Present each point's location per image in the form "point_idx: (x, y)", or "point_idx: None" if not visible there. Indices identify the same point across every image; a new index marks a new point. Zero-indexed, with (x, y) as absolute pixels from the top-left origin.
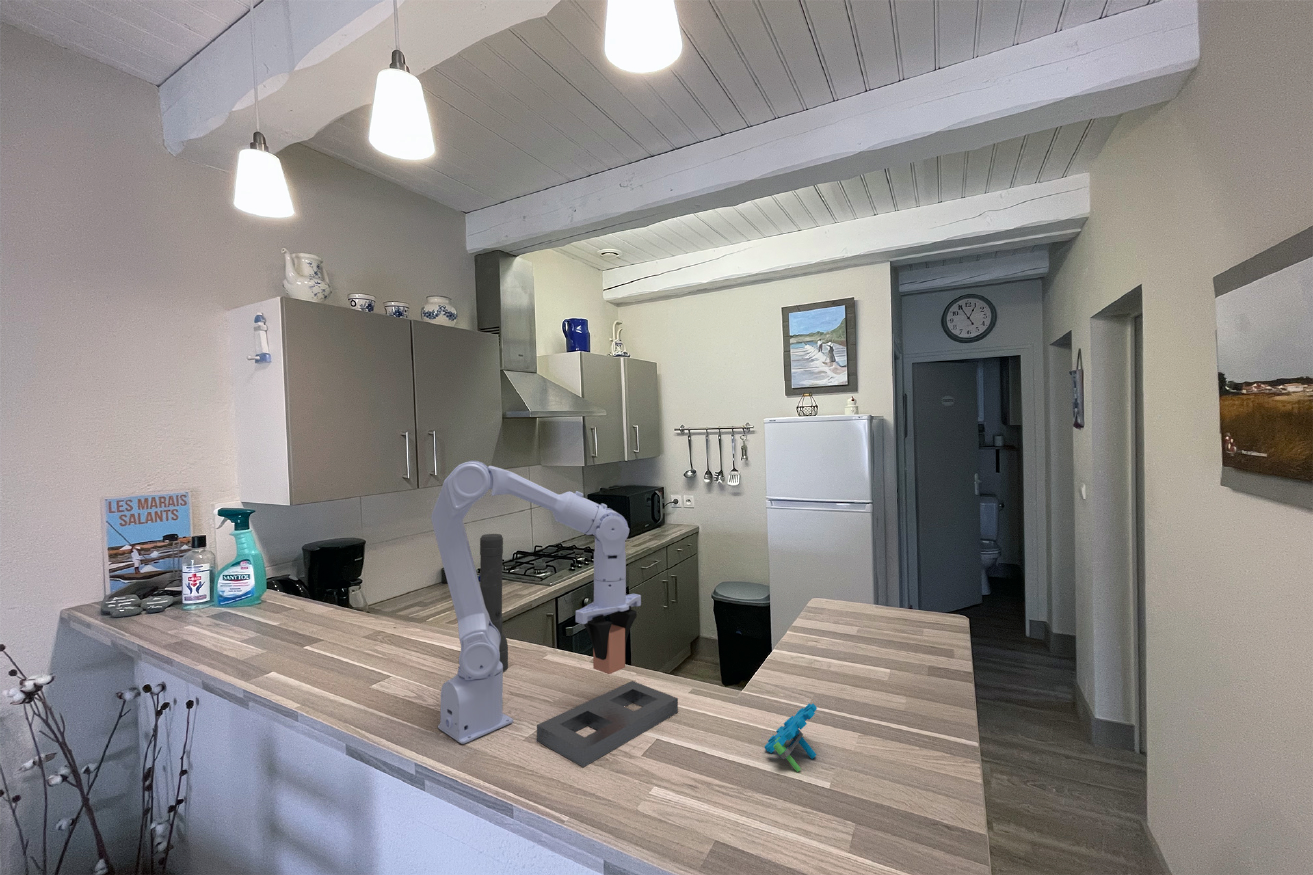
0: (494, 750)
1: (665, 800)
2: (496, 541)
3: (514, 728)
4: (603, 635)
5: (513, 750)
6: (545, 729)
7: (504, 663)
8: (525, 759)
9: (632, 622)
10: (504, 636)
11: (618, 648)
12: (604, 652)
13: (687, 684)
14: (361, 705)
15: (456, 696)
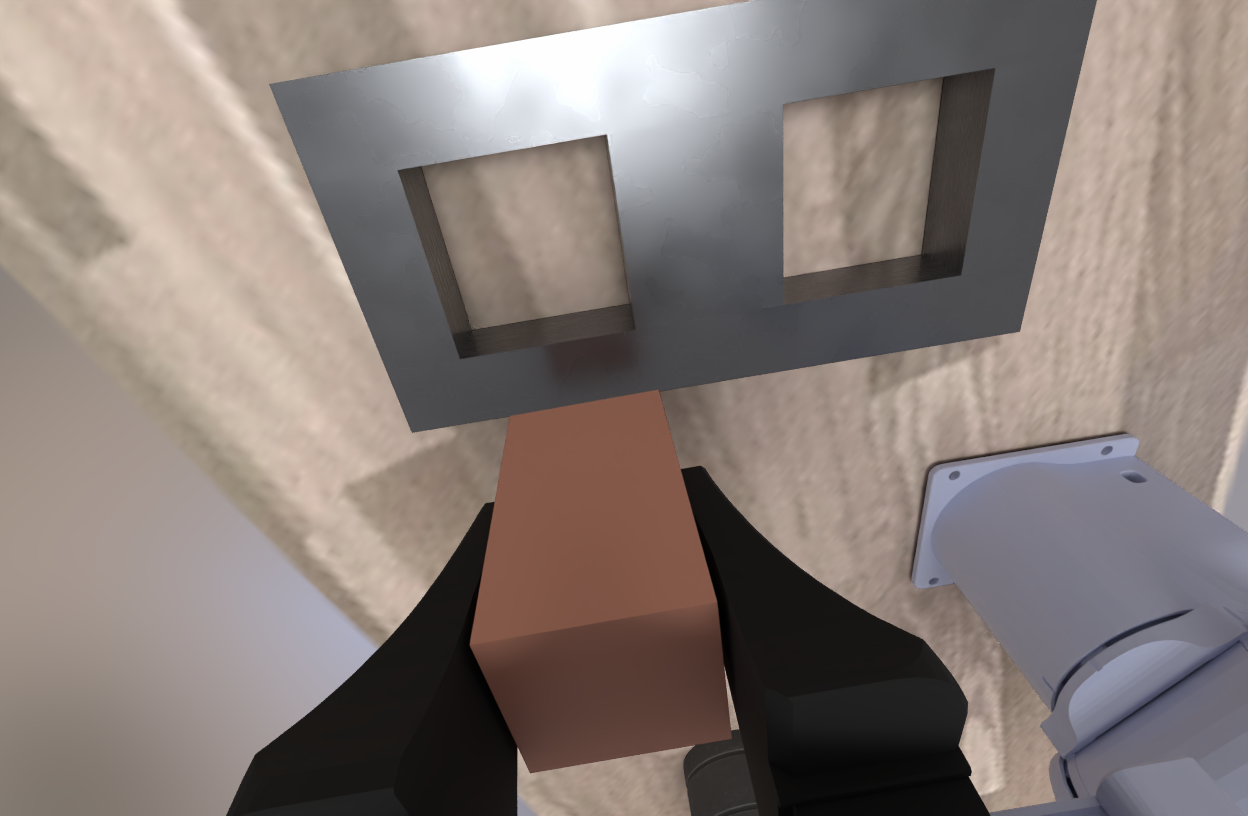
0: (1105, 342)
1: None
2: None
3: (953, 431)
4: (811, 586)
5: (1073, 300)
6: (1030, 273)
7: (721, 762)
8: (1105, 211)
9: (346, 688)
10: None
11: (572, 497)
12: (717, 490)
13: (93, 319)
14: None
15: None
